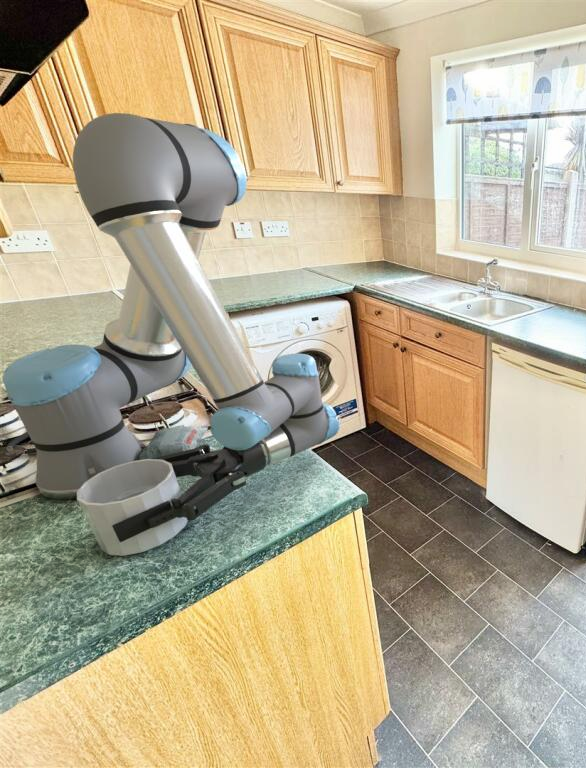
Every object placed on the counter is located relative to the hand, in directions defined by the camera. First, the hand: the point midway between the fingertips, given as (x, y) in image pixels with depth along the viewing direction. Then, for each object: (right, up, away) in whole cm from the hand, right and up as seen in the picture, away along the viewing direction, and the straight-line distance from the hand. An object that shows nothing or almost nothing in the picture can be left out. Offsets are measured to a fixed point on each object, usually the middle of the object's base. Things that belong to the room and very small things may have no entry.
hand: (102, 515), depth 61 cm
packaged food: (-7, +5, +24) cm, 25 cm away
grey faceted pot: (+2, -4, +6) cm, 7 cm away
